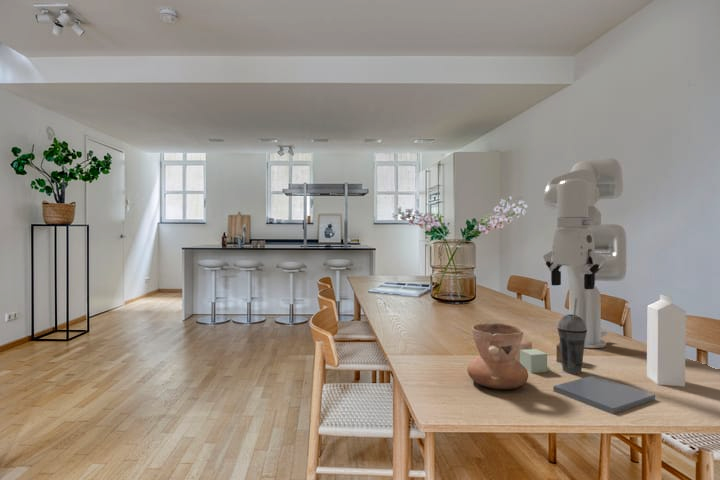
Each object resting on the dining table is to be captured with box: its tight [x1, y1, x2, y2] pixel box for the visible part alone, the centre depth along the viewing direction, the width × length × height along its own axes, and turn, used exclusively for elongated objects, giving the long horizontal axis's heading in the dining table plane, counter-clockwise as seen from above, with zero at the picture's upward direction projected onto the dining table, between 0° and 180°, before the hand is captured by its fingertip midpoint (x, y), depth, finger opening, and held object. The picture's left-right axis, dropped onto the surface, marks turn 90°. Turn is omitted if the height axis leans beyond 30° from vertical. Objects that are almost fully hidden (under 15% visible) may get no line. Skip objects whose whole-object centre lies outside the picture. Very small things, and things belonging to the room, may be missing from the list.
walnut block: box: [555, 342, 562, 364], centre depth 118 cm, size 5×5×5 cm
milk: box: [646, 293, 687, 388], centre depth 101 cm, size 6×6×22 cm
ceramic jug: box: [466, 322, 529, 390], centre depth 100 cm, size 18×14×14 cm
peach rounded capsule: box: [514, 339, 533, 363], centre depth 117 cm, size 6×6×6 cm
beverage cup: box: [556, 299, 587, 375], centre depth 109 cm, size 7×7×20 cm
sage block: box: [520, 348, 548, 374], centre depth 111 cm, size 5×5×5 cm
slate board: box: [552, 375, 656, 415], centre depth 93 cm, size 16×14×1 cm
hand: (572, 287), depth 109 cm, fingers open, 9 cm apart
